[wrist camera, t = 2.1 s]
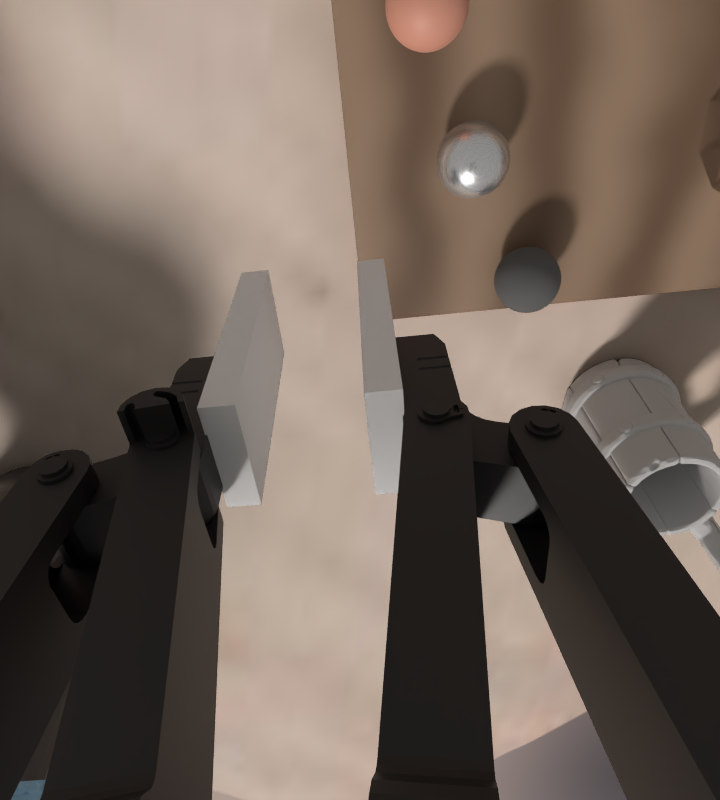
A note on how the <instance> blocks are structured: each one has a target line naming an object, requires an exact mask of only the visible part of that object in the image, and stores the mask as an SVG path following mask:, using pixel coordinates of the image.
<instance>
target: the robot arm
mask: <svg viewBox="0 0 720 800" xmlns="http://www.w3.org/2000/svg"><path fill="white" fill-rule="evenodd" d="M357 270H358V289H359V308H360V327H361V346H362V365H363V384H364V398H365V407H366V416H367V425H368V434H369V443H370V452H371V461H372V470H373V479H374V488H375V495H377V494H388V493H398V498H397V511H396V524H395V537H394V551H393V564H392V577H391V590H390V603H389V616H388V629H387V642H386V655H385V668H384V681H383V694H382V707H381V720H380V734H379V747H378V758H377V767H376V772H375V774H374V776H373V778H372V781H371V786H370V792H369V800H499V793H498V787H497V783H496V780H495V772H494V759H493V744H492V729H491V715H490V700H489V686H488V671H487V657H486V642H485V628H484V613H483V598H482V584H481V569H480V555H479V540H478V526H477V517H479V518H485V519H490V520H496V521H502V522H504V525H505V529H506V531H507V533H508V535H509V537H510V540H511V542H512V544H513V546H514V549H515V551H516V553H517V555H518V557H519V560H520V562H521V564H522V566H523V569H524V571H525V573H526V575H527V578H528V580H529V582H530V584H531V586H532V589H533V591H534V593H535V595H536V598H537V600H538V602H539V604H540V607H541V609H542V611H543V613H544V615H545V618H546V620H547V622H548V624H549V627H550V629H551V631H552V633H553V636H554V638H555V640H556V642H557V644H558V647H559V649H560V651H561V653H562V656H563V658H564V660H565V662H566V664H567V667H568V669H569V671H570V673H571V676H572V678H573V680H574V682H575V685H576V687H577V689H578V691H579V693H580V696H581V698H582V700H583V702H584V705H585V707H586V709H587V711H588V713H589V716H590V718H591V720H592V722H593V725H594V727H595V729H596V731H597V733H598V736H599V738H600V740H601V742H602V745H603V747H604V749H605V751H606V754H607V756H608V758H609V760H610V763H611V765H612V767H613V769H614V771H615V773H616V776H617V778H618V780H619V783H620V785H621V787H622V789H623V792H624V794H625V796H626V798H627V800H720V616H719V615H718V614H717V612H716V611H715V610H714V608H713V607H712V605H711V604H710V603H709V601H708V600H707V598H706V597H705V596H704V594H703V593H702V592H701V590H700V589H699V587H698V586H697V585H696V583H695V582H694V581H693V579H692V578H691V576H690V575H689V574H688V572H687V571H686V569H685V568H684V567H683V565H682V564H681V563H680V561H679V560H678V558H677V557H676V556H675V554H674V553H673V551H672V550H671V549H670V547H669V546H668V545H667V543H666V542H665V540H664V539H663V538H662V536H661V535H660V534H659V532H658V531H657V529H656V528H655V527H654V525H653V524H652V522H651V521H650V520H649V518H648V517H647V516H646V514H645V513H644V511H643V510H642V509H641V507H640V506H639V504H638V503H637V502H636V500H635V499H634V498H633V496H632V495H631V493H630V492H629V491H628V489H627V488H626V487H625V485H624V484H623V482H622V481H621V480H620V478H619V477H618V475H617V474H616V473H615V471H614V470H613V469H612V467H611V466H610V464H609V463H608V462H607V460H606V459H605V457H604V456H603V455H602V453H601V452H600V451H599V449H598V448H597V446H596V445H595V444H594V442H593V441H592V440H591V438H590V437H589V435H588V434H587V433H586V431H585V430H584V428H583V427H582V426H581V424H580V423H579V422H578V420H577V419H576V418H574V417H573V416H572V415H571V414H570V413H568V412H566V411H564V410H561V409H559V408H555V407H550V406H531V407H527V408H524V409H521V410H519V411H518V412H516V413H515V414H514V415H512V417H511V419H510V422H509V423H503V422H495V421H490V420H485V419H482V418H479V417H477V416H475V415H473V414H471V413H470V412H469V410H468V408H467V406H466V405H465V404H464V403H463V402H461V400H460V397H459V393H458V389H457V386H456V382H455V379H454V375H453V371H452V368H451V364H450V361H449V358H448V353H447V350H446V346H445V343H443V342H442V341H441V340H440V339H439V338H438V337H436V336H435V335H434V334H428V335H418V336H407V337H397V338H395V332H394V325H393V318H392V311H391V304H390V298H389V291H388V284H387V277H386V270H385V264H384V259H375V260H365V261H357ZM283 357H284V349H283V344H282V339H281V334H280V328H279V323H278V318H277V313H276V308H275V303H274V297H273V292H272V287H271V282H270V277H269V272H268V270H265V271H255V272H245V273H242V274H241V277H240V280H239V283H238V286H237V289H236V292H235V295H234V298H233V301H232V304H231V307H230V310H229V313H228V316H227V319H226V322H225V325H224V328H223V331H222V334H221V337H220V340H219V343H218V346H217V349H216V352H215V355H214V356H213V357H202V358H192V359H189V360H188V361H187V362H186V363H185V364H184V365H183V366H181V367H180V368H179V369H178V370H177V372H176V375H175V377H174V380H173V382H172V385H171V387H170V388H154V389H151V390H147V391H143V392H141V393H138V394H136V395H134V396H132V397H130V398H129V399H128V400H127V401H125V402H124V403H123V404H122V405H121V406H120V408H119V409H118V411H117V414H118V416H119V419H120V421H121V423H122V426H123V428H124V431H125V433H126V436H127V438H128V441H129V443H130V446H129V450H128V453H126V454H123V455H121V456H118V457H115V458H112V459H108V460H105V461H102V462H98V463H95V464H92V462H91V460H90V458H89V456H88V455H87V454H85V453H84V452H82V451H78V450H65V451H59V452H55V453H53V454H49V455H47V456H45V457H43V458H42V459H40V460H38V461H37V462H35V463H33V464H32V465H31V466H30V467H26V468H21V469H17V470H14V471H11V472H9V473H6V474H4V475H2V476H0V800H212V782H213V758H214V734H215V710H216V686H217V662H218V639H219V615H220V591H221V567H222V543H223V519H222V515H221V512H220V509H219V506H218V505H219V501H220V497H221V492H222V491H223V495H224V498H225V501H226V504H227V507H238V506H250V505H261V503H262V496H263V490H264V483H265V476H266V470H267V463H268V457H269V450H270V443H271V437H272V430H273V423H274V417H275V410H276V404H277V397H278V390H279V384H280V377H281V371H282V364H283Z"/></svg>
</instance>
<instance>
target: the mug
mask: <svg viewBox="0 0 720 800" xmlns="http://www.w3.org/2000/svg"><path fill="white" fill-rule="evenodd" d="M570 387H571V388H568V390H567V393H566V396H565V399H564V403H563V406H562V410H564V411H566V412H568V413H570V414H571V415H572V416H573V417H574V418H576V419H577V420H578V422H579V423H580V424H581V426H582V427H583V428H584V430H585V431H586V433H587V434H588V435H589V437H590V438H591V440H592V441H593V442H594V444H595V445H596V446H597V448H598V449H599V451H600V452H601V453H602V455H603V456H604V457H605V459H606V460H607V462H608V463H609V464H610V466H611V467H612V469H613V470H614V471H615V473H616V474H617V475H618V477H619V478H620V480H621V481H622V482H623V484H624V485H625V487H626V488H627V489H628V491H629V492H630V493H631V495H632V496H633V498H634V499H635V500H636V502H637V503H638V504H639V506H640V507H641V509H642V510H643V511H644V513H645V514H646V516H647V517H648V518H649V520H650V521H651V522H652V524H653V525H654V527H655V528H656V529H657V531H658V532H659V534H660V535H661V536H665V534H666V533H667V534H669V535H674V534H679V533H683V532H685V531H688V530H690V531H691V532H692V534H693V535H694V536H695V538H696V539H697V540H698V541H699V542H700V544H701V546H702V547H703V549H704V550H705V551H706V553H707V554H708V556H709V557H710V559H711V560H712V562H713V563H714V565H715V566H716V568H717V569H718V571H719V572H720V527H719V526H718V524H717V523H716V522H715V520H714V518H713V515H714V514H715V513H716V512H717V511H716V510H720V459H719V458H718V456H717V455H716V454H715V452H714V451H713V445H712V441H711V439H710V437H709V435H708V434H707V432H706V431H705V430H704V429H703V427H702V426H701V425H700V424H699V423H698V422H696V421H695V420H694V419H692V418H691V417H690V416H689V415H688V413H687V412H686V410H685V409H684V408H683V406H682V405H681V399H680V395H679V392H678V390H677V388H676V386H675V384H674V383H673V382H672V381H671V379H670V378H669V377H668V376H667V375H666V374H664V373H663V372H662V371H660V370H658V369H656V368H654V367H653V366H651V365H649V364H648V363H645V362H643V361H640V360H637V359H631V358H626V359H620V361H619V362H617V361H616V360H615V359H613V360H608V361H605V362H602V363H600V364H598V365H595V366H593V367H592V368H590V369H588V370H586V371H585V372H584V373H582V374H581V375H580V376H579V377H578V378H577V379H576V380H575V381H574V382H573V383H572V384H571V386H570Z"/></svg>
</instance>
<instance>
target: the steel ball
mask: <svg viewBox="0 0 720 800" xmlns="http://www.w3.org/2000/svg"><path fill="white" fill-rule="evenodd" d="M509 166H510V149H509V145H508V142H507V140H506V138H505V137H504V135H503V134H502V132H501V131H500V130H499V129H498V128H496V127H495V126H493V125H492V124H489V123H487V122H484V121H468V122H464V123H461V124H459V125H457V126H456V127H454V128H453V129H452V130H450V131H449V132H448V133H447V135H446V136H445V137H444V138H443V140H442V142H441V144H440V146H439V149H438V152H437V157H436V168H437V172H438V176H439V179H440V180H441V182H442V184H443V185H444V186H445V188H446V189H447V190H448V191H450V192H451V193H452V194H454V195H456V196H458V197H461V198H465V199H476V198H481V197H484V196H486V195H488V194H490V193H492V192H493V191H494V190H496V189H497V188H498V187H499V186H500V184H501V183H502V182H503V180H504V179H505V177H506V175H507V172H508V170H509Z"/></svg>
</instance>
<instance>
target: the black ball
mask: <svg viewBox="0 0 720 800" xmlns="http://www.w3.org/2000/svg"><path fill="white" fill-rule="evenodd" d="M560 285H561V271H560V267H559V265H558V263H557V261H556V260H555V258H554V257H553V256H552V255H551V254H550V253H548V252H547V251H545V250H543V249H541V248H537V247H521V248H518V249H515V250H513V251H512V252H510V253H509V254H507V255H506V256H505V257H504V258H503V259H502V260H501V261H500V263H499V265H498V266H497V269H496V272H495V275H494V287H495V291H496V294H497V296H498V298H499V299H500V300H501V302H502V303H503V304H504V305H505V306H507V307H508V308H510V309H512V310H514V311H517V312H523V313H530V312H535V311H538V310H541V309H542V308H544V307H546V306H547V305H548V304H550V303H551V302H552V301H553V299H554V298H555V297H556V295H557V293H558V291H559V289H560Z"/></svg>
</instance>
